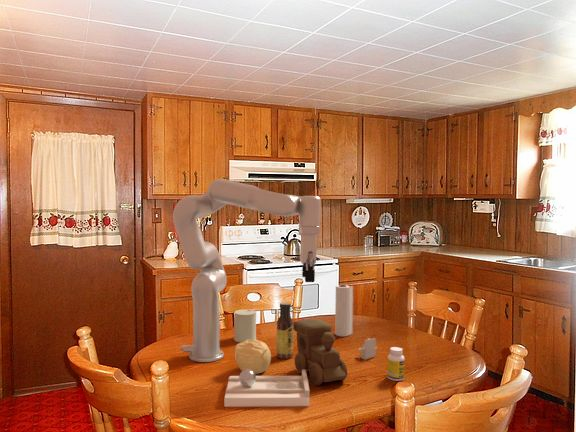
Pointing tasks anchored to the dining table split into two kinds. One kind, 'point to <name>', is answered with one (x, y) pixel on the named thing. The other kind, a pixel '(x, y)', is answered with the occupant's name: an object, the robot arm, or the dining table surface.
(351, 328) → the paper towel roll
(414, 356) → the dining table surface
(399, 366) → the supplement bottle
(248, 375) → the steel ball
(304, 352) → the wooden toy train
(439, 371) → the dining table surface
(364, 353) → the architectural model
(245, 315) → the can
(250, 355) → the sculpture
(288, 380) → the white tray
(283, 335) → the sauce bottle
